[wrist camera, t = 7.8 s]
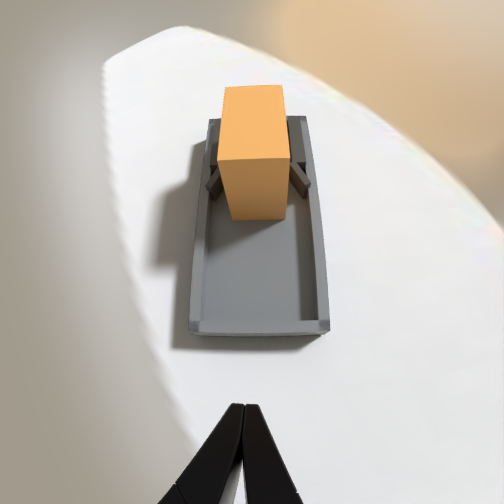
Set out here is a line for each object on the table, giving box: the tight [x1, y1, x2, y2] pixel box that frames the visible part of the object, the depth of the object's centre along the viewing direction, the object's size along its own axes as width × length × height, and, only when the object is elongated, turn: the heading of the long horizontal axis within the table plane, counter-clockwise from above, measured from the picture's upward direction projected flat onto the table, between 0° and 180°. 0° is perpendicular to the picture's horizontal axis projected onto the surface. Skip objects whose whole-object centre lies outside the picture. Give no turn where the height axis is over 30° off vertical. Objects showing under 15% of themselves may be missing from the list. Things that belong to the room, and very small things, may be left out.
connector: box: [217, 85, 290, 221], centre depth 23 cm, size 10×4×8 cm, turn 0°
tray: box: [189, 116, 330, 336], centre depth 24 cm, size 21×10×3 cm, turn 0°
